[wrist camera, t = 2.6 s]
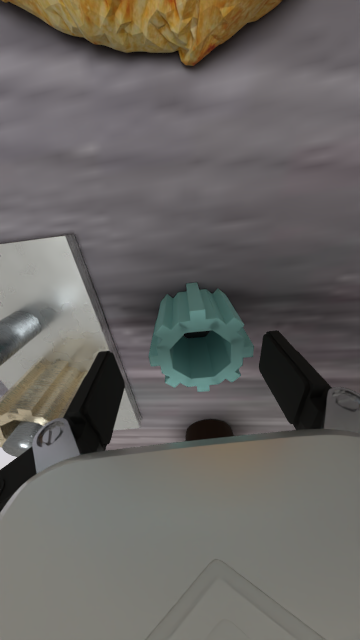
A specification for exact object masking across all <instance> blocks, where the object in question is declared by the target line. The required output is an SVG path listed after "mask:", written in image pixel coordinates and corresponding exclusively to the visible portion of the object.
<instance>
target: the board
mask: <svg viewBox="0 0 360 640" xmlns="http://www.w3.org/2000/svg"><path fill="white" fill-rule="evenodd" d="M101 351H110V352H111V353H113V354H114V357H115V359H116V362H117V364H118V367H119V369H120V372H121V374H122V377H123V379H124V382H125V388H124V392H123V396H122V399H121V403H120V407H119V411H118V414H117V418H116V422H115V426H114V429H113V430H123V429H136V428H140V426H141V420H142V418H141V415H140V413H139V410H138V407H137V404H136V402H135V399H134V396H133V394H132V391H131V388H130V385H129V383H128V380H127V377H126V374H125V372H124V369H123V366H122V364H121V361H120V358H119V355H118V353H117V350H116V347H115V344H114V342H113V339H112V336H111V334H110V331H109V328H108V325H107V323H106V320H105V317H104V315H103V312H102V309H101V306H100V304H99V301H98V298H97V295H96V293H95V290H94V287H93V285H92V282H91V279H90V276H89V274H88V271H87V268H86V265H85V263H84V260H83V257H82V255H81V252H80V249H79V246H78V244H77V241H76V238H75V235H74V234H73V235H65V236H58V237H50V238H43V239H35V240H28V241H20V242H13V243H5V244H0V380H1V381H2V382H3V383H4V385H5V386H6V387H7V388H8V389H9V390H8V391H7V392H6V393H5V394H4V395H3V396H2V397H1V398H0V447H2V448H3V450H4V451H5V452H6V453H8V454H10V455H12V456H16V457H19V456H20V455H21V454H23V453H24V452H25V451H27V450H28V449H29V448H31V447H32V443H33V439H34V437H35V435H36V434H37V432H38V431H39V430H40V429H41V428H42V427H43V426H44V425H45V424H47V423H48V422H50V421H52V420H54V419H57V418H63V417H64V415H65V413H66V411H67V409H68V407H69V405H70V404H71V402H72V400H73V398H74V396H75V394H76V392H77V390H78V388H79V387H80V385H81V383H82V381H83V379H84V377H85V376H86V375H87V373H88V371H89V369H90V368H91V366H92V364H93V362H94V360H95V358H96V356H97V354H98V353H99V352H101Z"/></svg>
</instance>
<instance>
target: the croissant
mask: <svg viewBox="0 0 360 640" xmlns="http://www.w3.org/2000/svg"><path fill="white" fill-rule="evenodd" d="M2 1H3V2H5V3H7V2H8V1H9V2H11V3H13V4H15V5H17V6H19V7H21V8H23V9H24V10H26V11H28V12H30V13H32V14H33V15H35V16H37V17H39V18H40V19H42V20H43V21H44V22H46V23H47V24H48V25H50V26H52V27H53V28H55V29H57V30H59V31H61V32H63V33H66V34H69V35H72V36H77V37H84V38H85V39H87V40H88V41H90V42H91V43H93V44H97V45H105V46H108V47H111V48H113V49H115V50H119V51H122V52H126V53H129V52H135V51H145V52H150V53H171V52H174V51H177V50H178V51H179V55H180V58H181V61H182V62H183V63H184V64H185V65H191V66H194V65H195V64H196V63H198V62H199V61H200V60H201V59H203V58H204V57H205V56H206V55H207V54H208V53H210V52H211V51H212V50H213V49H214V48H215V47H217V46H218V45H219V44H222V43H224V42H225V41H226V40H228V39H229V38H230V37H232V36H233V35H234V34H235V33H236V32H237V31H238V30H240V29H241V28H242V27H243V26H244V25H245V24H247V23H249V22H254V21H257V20H258V19H260V18H261V17H262V16H264V15H265V14H267V13H268V12H269V11H271V10H272V9H273V8H275V7H276V6H277V5H278V4H279V3H280V2H281V1H282V0H2Z"/></svg>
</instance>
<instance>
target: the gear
mask: <svg viewBox="0 0 360 640" xmlns="http://www.w3.org/2000/svg"><path fill="white" fill-rule="evenodd" d="M186 288H187V291H185V292H178V293H177V294H176V296H175V297H174V298H172V297H171V296H169V295H168V294H167V295H166V296H165V297H164V298H163V300H162V301H161V303H160V308H159V313H158V318H157V319H156V323H155V328H154V333H153V337H152V342H151V347H150V352H149V360H150V364H151V366H161V370H162V373H163V374H165V383H167V384H169V385H171V386H173V387H174V388H175V387H176V386H177V385H178V384H179V383H181V384H183V385H185V386H187V387H191V386H197V391H198V392H202V391H209V385H214V384H220V383H221V382H222V381H223V380H225V379H227V380H229V381H230V382H233V381H235V380H236V379H237V378H239V377H240V376H241V374H240V372H239V368H240V367H241V366H242V365H243V358H245V357H253V350H254V345H253V344H252V342H251V340H250V339H249V337H248V335H247V334H246V332H245V330H244V329H243V326H244V323H243V322H242V320H241V319H240V317H239V315H238V314H237V312H236V311H235V309H234V307H233V306H232V304H231V303H230V301H229V299H228V298H227V296H226V295H225V294H224V293H223V292H222V291H221V290H219V289H217V290H216V291H215V292H214V293H213V294H212V293H210V292H209V291H208V290H207V289H202V290H199V287H198V284H197V283H188V284H186ZM209 330H212V331H210V332H209V333H208V334H207V335H206V336H205V337H199V338H189V339H188V338H186V337H184V336H183V335H184V334H185V333H190V332H200V331H209Z"/></svg>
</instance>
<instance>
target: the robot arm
mask: <svg viewBox="0 0 360 640" xmlns="http://www.w3.org/2000/svg"><path fill="white" fill-rule="evenodd" d="M259 370H260V372H261V374H262V376H263V378H264V379H265V381H266V383H267V385H268V386H269V388H270V390H271V392H272V394H273V395H274V397H275V399H276V401H277V402H278V404H279V406H280V408H281V409H282V411H283V413H284V415H285V416H286V418H287V420H288V421H289V423H290V424H293V425H294V427H295V428H296V430H293V431H281V432H271V433H261V434H251V435H241V436H232V437H222V438H213V439H203V440H194V441H185V442H176V443H167V444H158V445H149V446H140V447H132V448H123V449H116V450H108V451H105V449H106V445H107V444H109V443H110V440H111V437H112V433H113V429H114V426H115V422H116V418H117V414H118V411H119V407H120V403H121V399H122V396H123V392H124V388H125V382H124V379H123V377H122V374H121V372H120V369H119V367H118V364H117V362H116V359H115V357H114V354H113V353H111V352H110V351H101V352H99V353H98V354H97V356H96V358H95V360H94V362H93V364H92V366H91V368H90V369H89V371H88V373H87V375H86V376H85V377H84V379H83V381H82V383H81V385H80V387H79V388H78V390H77V392H76V394H75V396H74V398H73V400H72V402H71V404H70V405H69V407H68V409H67V411H66V413H65V415H64V417H63V418H57V419H54V420H52V421H50V422H48V423H47V424H45V425H44V426H43V427H42V428H41V429H40V430H39V431H38V432H37V434H36V435H35V437H34V439H33V443H32V447H31V448H29V449H28V450H27V451H25V452H24V453H23V454H21V455H20V456H19V457H17V458H16V459H14V460H13V461H12V462H10V463H9V464H8V465H6V466H5V467H4V468H2V469H1V470H0V640H360V394H358V393H357V392H355V391H353V390H350V389H347V388H344V387H333V388H332V387H331V386H330V385H329V384H328V383H327V382H326V381H325V380H324V379H323V378H322V377H321V376H320V375H319V373H318V372H317V371H316V370H315V369H314V368H313V367H312V366H311V365H310V364H309V363H308V362H307V361H306V360H305V358H304V357H303V356H302V355H301V354H300V353H299V352H298V351H296V350H295V349H294V347H293V346H292V345H291V344H290V343H289V342H288V341H287V340H286V339H285V338H284V337H283V336H282V334H281V333H280V332H279V331H269V332H267V333H266V334H264V336H263V342H262V349H261V356H260V363H259Z"/></svg>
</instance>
